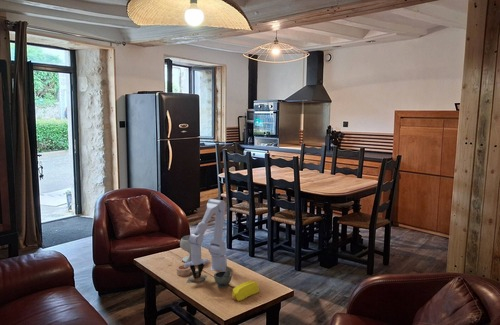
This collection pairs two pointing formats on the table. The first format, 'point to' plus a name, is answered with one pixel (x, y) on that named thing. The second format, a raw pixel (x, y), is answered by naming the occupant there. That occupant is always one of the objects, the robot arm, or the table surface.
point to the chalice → (186, 248)
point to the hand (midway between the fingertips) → (196, 276)
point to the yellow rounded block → (245, 290)
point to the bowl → (183, 270)
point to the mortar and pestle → (223, 278)
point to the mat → (196, 282)
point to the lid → (196, 277)
